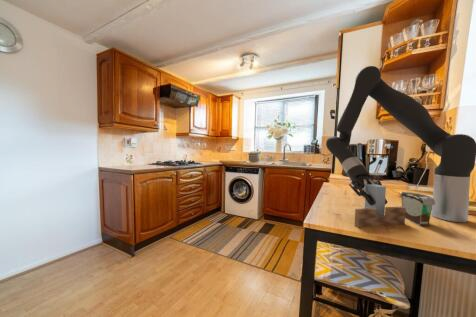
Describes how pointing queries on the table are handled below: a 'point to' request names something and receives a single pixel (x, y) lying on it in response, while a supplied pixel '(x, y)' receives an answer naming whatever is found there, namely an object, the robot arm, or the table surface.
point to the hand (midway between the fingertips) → (379, 203)
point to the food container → (417, 207)
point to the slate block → (377, 198)
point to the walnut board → (379, 217)
